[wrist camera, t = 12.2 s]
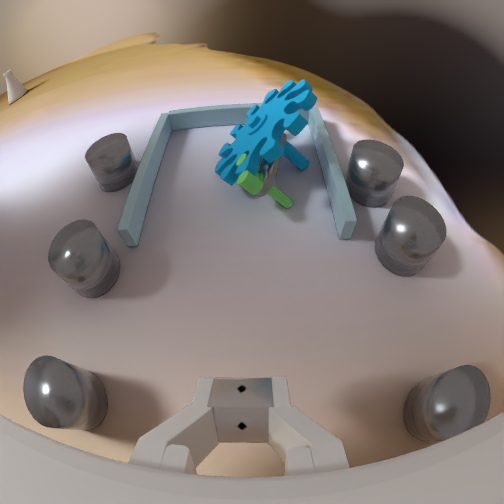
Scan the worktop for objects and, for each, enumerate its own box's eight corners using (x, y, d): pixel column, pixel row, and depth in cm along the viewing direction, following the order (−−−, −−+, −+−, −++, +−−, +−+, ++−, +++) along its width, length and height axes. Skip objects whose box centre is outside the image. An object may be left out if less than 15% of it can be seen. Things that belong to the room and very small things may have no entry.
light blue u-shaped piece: (127, 246, 19) (116, 229, 17) (166, 127, 27) (162, 112, 26) (349, 238, 19) (357, 220, 17) (314, 119, 27) (316, 103, 25)
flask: (11, 99, 50) (1, 75, 42) (30, 87, 52) (20, 62, 43) (6, 108, 47) (-6, 82, 38) (25, 95, 48) (14, 67, 40)
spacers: (41, 428, 12) (6, 423, 9) (107, 164, 25) (95, 137, 22) (457, 429, 11) (492, 425, 8) (380, 152, 24) (390, 123, 21)
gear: (231, 112, 25) (309, 56, 18) (274, 147, 28) (355, 106, 21) (189, 204, 21) (286, 147, 13) (247, 240, 24) (351, 210, 16)
